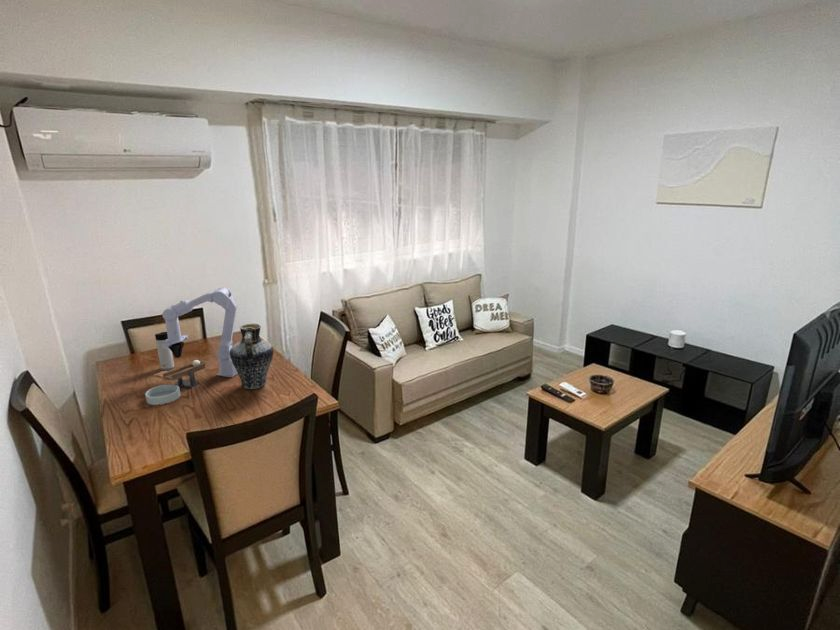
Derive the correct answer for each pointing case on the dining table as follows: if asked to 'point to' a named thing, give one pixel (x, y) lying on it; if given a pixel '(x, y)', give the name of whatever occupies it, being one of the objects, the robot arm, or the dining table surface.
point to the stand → (187, 381)
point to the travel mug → (164, 352)
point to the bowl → (162, 394)
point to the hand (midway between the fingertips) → (177, 357)
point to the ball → (196, 363)
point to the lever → (180, 371)
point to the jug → (251, 357)
